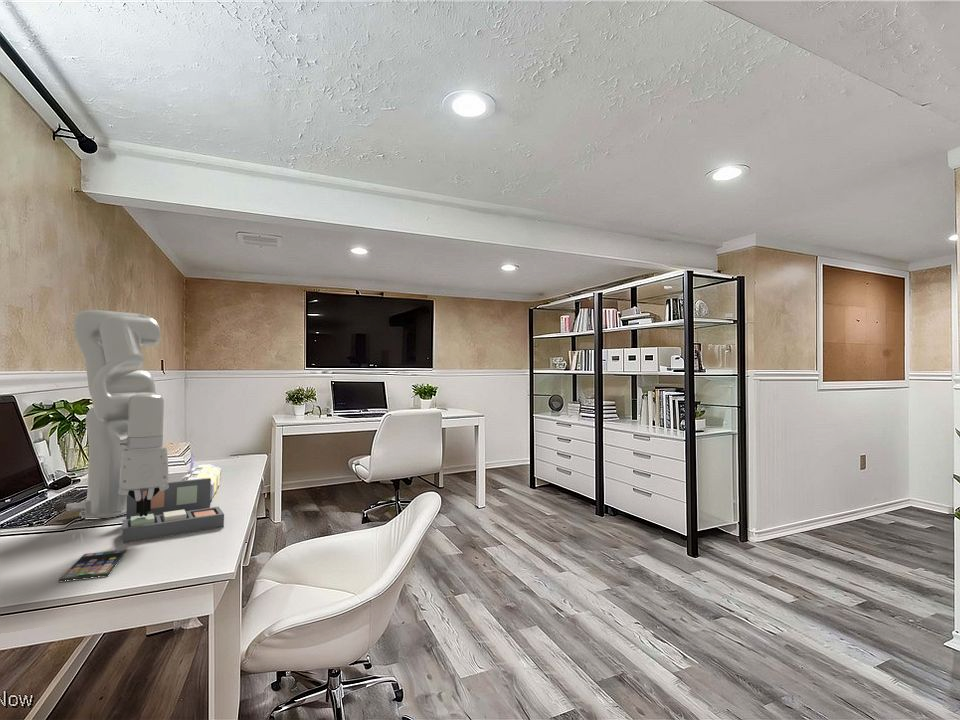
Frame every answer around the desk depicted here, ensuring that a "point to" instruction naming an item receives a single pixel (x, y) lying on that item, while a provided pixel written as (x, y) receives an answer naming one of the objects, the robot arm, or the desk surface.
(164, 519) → the key cream
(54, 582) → the desk surface
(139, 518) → the key sage
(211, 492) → the white yellow ridged block
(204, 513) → the key terracotta
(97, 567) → the smartphone
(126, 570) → the desk surface
